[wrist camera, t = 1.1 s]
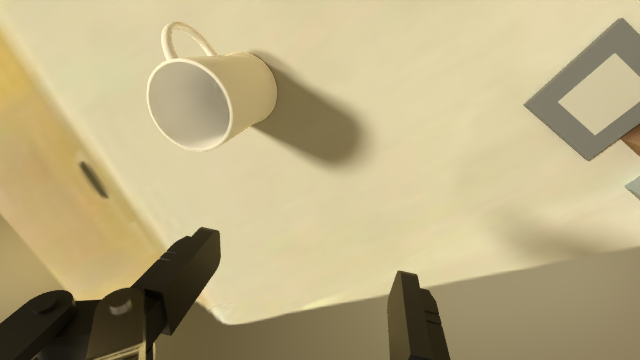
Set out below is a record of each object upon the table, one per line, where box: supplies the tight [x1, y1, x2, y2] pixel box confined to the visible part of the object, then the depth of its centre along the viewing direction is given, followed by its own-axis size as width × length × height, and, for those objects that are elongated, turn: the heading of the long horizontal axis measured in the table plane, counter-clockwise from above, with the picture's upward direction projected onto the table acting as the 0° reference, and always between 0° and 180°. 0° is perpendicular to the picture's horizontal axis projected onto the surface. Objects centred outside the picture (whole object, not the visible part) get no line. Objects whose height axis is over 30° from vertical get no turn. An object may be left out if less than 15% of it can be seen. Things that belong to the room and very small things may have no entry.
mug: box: [147, 22, 277, 152], centre depth 29 cm, size 12×8×12 cm
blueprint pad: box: [524, 18, 640, 160], centre depth 29 cm, size 10×10×1 cm
